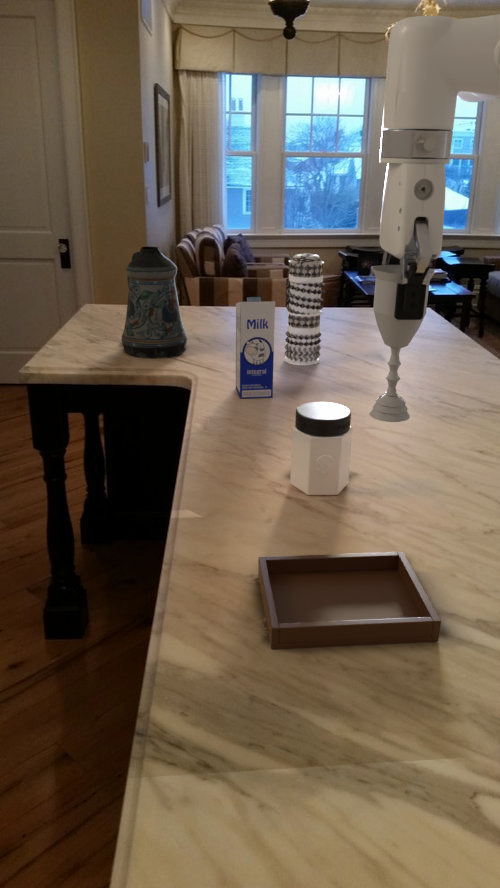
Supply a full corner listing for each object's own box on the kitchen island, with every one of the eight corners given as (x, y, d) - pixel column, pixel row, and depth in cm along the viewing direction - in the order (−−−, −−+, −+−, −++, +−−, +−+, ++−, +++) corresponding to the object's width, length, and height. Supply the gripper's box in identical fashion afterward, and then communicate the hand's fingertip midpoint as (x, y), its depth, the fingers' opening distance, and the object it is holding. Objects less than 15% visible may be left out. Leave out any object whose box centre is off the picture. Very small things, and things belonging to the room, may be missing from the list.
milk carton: (239, 398, 144) (240, 301, 136) (234, 388, 150) (235, 294, 142) (273, 397, 145) (276, 300, 137) (267, 387, 151) (269, 294, 144)
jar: (292, 496, 104) (295, 420, 99) (287, 473, 111) (290, 401, 107) (353, 496, 104) (359, 420, 99) (344, 472, 112) (349, 401, 107)
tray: (401, 569, 86) (403, 551, 85) (438, 641, 74) (441, 620, 73) (258, 575, 85) (258, 556, 84) (271, 649, 72) (271, 628, 71)
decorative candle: (288, 366, 166) (292, 258, 156) (279, 356, 174) (282, 252, 164) (325, 365, 168) (332, 257, 158) (314, 354, 176) (319, 251, 166)
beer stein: (162, 362, 168) (158, 254, 158) (99, 351, 177) (91, 248, 167) (200, 347, 181) (198, 247, 171) (140, 337, 190) (135, 241, 180)
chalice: (350, 416, 88) (361, 269, 81) (375, 401, 93) (387, 262, 86) (404, 429, 84) (421, 276, 77) (427, 413, 89) (444, 269, 82)
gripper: (477, 150, 69) (454, 329, 76) (425, 149, 85) (410, 297, 92) (402, 148, 68) (386, 329, 75) (364, 148, 84) (353, 297, 91)
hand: (399, 310), depth 83 cm, fingers closed on chalice, 6 cm apart
